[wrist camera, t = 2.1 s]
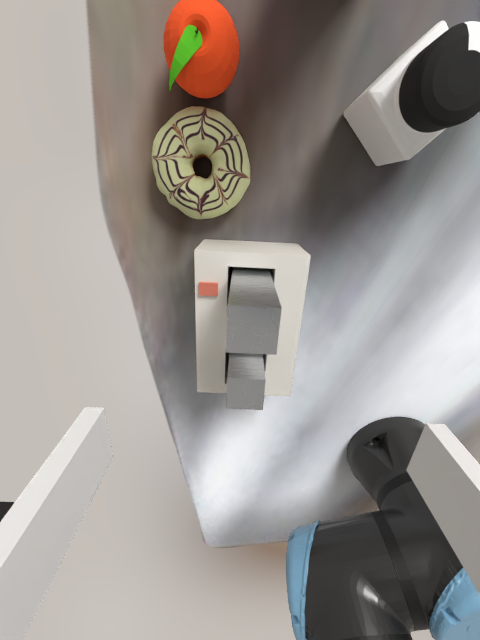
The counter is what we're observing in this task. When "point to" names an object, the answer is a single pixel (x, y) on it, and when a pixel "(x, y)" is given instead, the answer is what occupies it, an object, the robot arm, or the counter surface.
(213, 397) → the counter surface
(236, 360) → the grey square peg
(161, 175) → the decorated donut
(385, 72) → the medicine bottle
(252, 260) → the housing
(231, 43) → the clementine
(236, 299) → the upper square grey bar
